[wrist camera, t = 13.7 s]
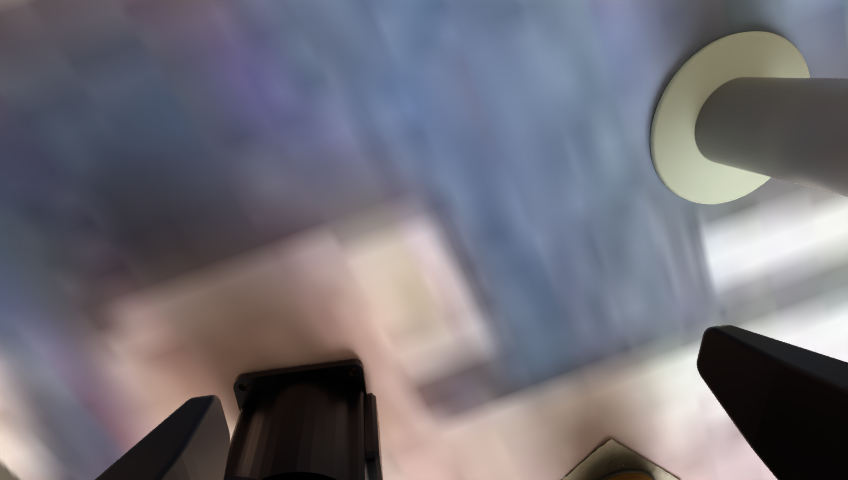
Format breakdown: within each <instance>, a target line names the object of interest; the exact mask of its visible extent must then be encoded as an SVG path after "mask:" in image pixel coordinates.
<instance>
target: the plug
mask: <svg viewBox="0 0 848 480" xmlns="http://www.w3.org/2000/svg"><path fill="white" fill-rule="evenodd" d="M695 141H696V145H697V148H698V150H699V151H700V153H701V154H702V155H703V156H704V157H705V158H706V159H708V160H709V161H712V162H715V163H718V164H722V165H726V166H730V167H734V168H738V169H742V170H745V171H749V172H753V173H757V174H761V175H765V176H769V177H773V178H776V179H780V180H784V181H788V182H792V183H796V184H800V185H804V186H807V187H811V188H815V189H819V190H823V191H827V192H831V193H835V194H838V195H842V196H846V197H848V79H835V78H779V77H739V78H735V79H732V80H730V81H727V82H726V83H724V84H722V85H721V86H719V87H718V88H717V89H716V90H715V91H713V92H712V94H711V95H710V96H709V97H708V98H707V100H706V101H705V102H704V104H703V106H702V107H701V109H700V112H699V114H698V117H697V120H696V124H695Z"/></svg>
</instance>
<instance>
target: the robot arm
mask: <svg viewBox="0 0 848 480" xmlns="http://www.w3.org/2000/svg"><path fill="white" fill-rule="evenodd" d="M352 368H357V369H358V370H356V371H351V370H350V369H352ZM697 368H698V371H699V374H700V376H701V377H702V379H703V380H704V381H705V383H706V384H707V386H708V387H709V388H710V390H711V391H712V393H713V394H714V396H715V397H716V398H717V400H718V401H719V403H720V404H721V406H722V407H723V408H724V410H725V411H726V413H727V414H728V416H729V417H730V418H731V420H732V421H733V423H734V424H735V425H736V427H737V428H738V430H739V431H740V433H741V434H742V435H743V437H744V438H745V440H746V441H747V442H748V444H749V445H750V446H751V448H752V449H753V450H754V451H755V453H756V454H757V455H758V456H759V458H760V459H761V460H762V461H763V463H764V464H765V465H766V466H767V467H768V469H769V470H770V471H771V472H772V473H773V475H774V476H775V477H776V478H777V479H778V480H848V363H847V362H844V361H841V360H838V359H835V358H832V357H829V356H826V355H822V354H819V353H816V352H813V351H810V350H807V349H804V348H801V347H797V346H794V345H791V344H788V343H785V342H782V341H779V340H776V339H773V338H769V337H766V336H763V335H760V334H757V333H754V332H751V331H748V330H744V329H741V328H738V327H735V326H732V325H722V326H714V327H710V328H708V329H706V331H705V332H704V334H703V338H702V342H701V346H700V350H699V354H698V359H697ZM241 383H247V384H248V385H247V386H245V385H242V384H241ZM234 392H235V395H236V399H237V403H238V406H239V410H240V414H239V417H238V420H237V423H236V426H235V429H234V432H233V435H232V438H231V441H230V434H229V429H228V425H227V422H226V418H225V415H224V411H223V408H222V405H221V401H220V399H219V398H218V397H217V396H215V395H208V396H201V397H194V398H191V399H189V400H188V401H186V402H185V403H184V404H183V405H182V406H180V407H179V408H178V409H177V410H176V411H175V412H173V413H172V414H171V415H170V416H169V417H168V418H166V419H165V420H164V421H163V422H162V423H161V424H159V425H158V426H157V427H156V428H155V429H154V430H152V431H151V432H150V433H149V434H148V435H146V436H145V437H144V438H143V439H142V440H141V441H139V442H138V443H137V444H136V445H135V446H134V447H132V448H131V449H130V450H129V451H128V452H127V453H125V454H124V455H123V456H122V457H121V458H120V459H118V460H117V461H116V462H115V463H114V464H113V465H111V466H110V467H109V468H108V469H107V470H105V471H104V472H103V473H102V474H101V475H100V476H98V477H97V478H96V479H95V480H383V472H382V458H381V444H380V430H379V421H378V412H377V403H376V396H375V395H373V394H372V393H368V394H367V390H366V382H365V374H364V366H363V363H362V362H361V361H360V360H357V359H351V360H344V361H336V362H328V363H321V364H313V365H306V366H298V367H291V368H283V369H276V370H268V371H260V372H253V373H245V374H241V375H239V376H238V377H237V378H236V380H235V383H234Z"/></svg>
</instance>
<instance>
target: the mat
mask: <svg viewBox="0 0 848 480" xmlns="http://www.w3.org/2000/svg"><path fill="white" fill-rule="evenodd" d="M739 77H779V78H810V75H809V71H808V68H807V65H806V63H805V60H804V58H803V56H802V55H801V54H800V52H799V51H798V49H797V48H796V47H795V46H794V45H793V44H792V43H791V42H789V41H788V40H786V39H785V38H783V37H781V36H778V35H776V34H773V33H769V32H761V31H751V32H742V33H735V34H732V35H728V36H725V37H722V38H720V39H718V40H715V41H713V42H712V43H710V44H708V45H706V46H705V47H703V48H702V49H701V50H699V51H698V52H697V53H695V54H694V55H693V56H692V57H691V58H690V59H688V60H687V61H686V62H685V63H684V64H683V65H682V67H681V68H680V69H679V70H678V71H677V72H676V74H675V75H674V76H673V78H672V79H671V81H670V82H669V84H668V85H667V87H666V89H665V91H664V92H663V94H662V96H661V99H660V101H659V103H658V105H657V108H656V111H655V114H654V118H653V122H652V127H651V137H650V148H651V156H652V161H653V164H654V167H655V170H656V172H657V174H658V176H659V178H660V179H661V181H662V182H663V183H664V185H665V186H666V187H667V188H668V189H669V190H670V191H672V192H673V193H675V194H676V195H678V196H680V197H682V198H684V199H687V200H689V201H692V202H696V203H701V204H719V203H725V202H728V201H732V200H735V199H738V198H740V197H742V196H745V195H746V194H748V193H750V192H752V191H754V190H755V189H756V188H758V187H759V186H761V185H762V184H763V183H765V182H766V181H767V180H768V179H769V178H771V177H769V176H765V175H761V174H757V173H753V172H749V171H745V170H742V169H738V168H734V167H730V166H726V165H722V164H718V163H715V162H712V161H709V160H708V159H706V158H705V157H704V156H703V155H702V154H701V153H700V151H699V150H698V148H697V145H696V141H695V124H696V120H697V117H698V114H699V112H700V109H701V107H702V106H703V104H704V102H705V101H706V100H707V98H708V97H709V96H710V95H711V94H712V92H713V91H715V90H716V89H717V88H718V87H719V86H721V85H722V84H724V83H726V82H727V81H730V80H732V79H735V78H739Z"/></svg>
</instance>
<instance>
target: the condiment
mask: <svg viewBox="0 0 848 480" xmlns="http://www.w3.org/2000/svg"><path fill="white" fill-rule="evenodd" d="M623 465H624V466H623ZM562 480H678V479H677V478H675V477H674V476H672V475H671V474H669V473H667V472H665V471H664V470H663V469H661V468H660V467H658V466H656V465H654V464H653V463H651V462H649V461H648V460H645V459H643V458H642V457H640V456H639V455H637V454H636V453H634V452H633V451H631V450H630V449H628V448H626V447H624V446H622V445H620V444H619V443H617V442H615V441H614V440H612V439H611V440H609V441H608V442H607V443H605V444H604V445H603V446H602V447H599V448H598V449H597V450H596V451H595V452H594V453H592V454H591V455H590V456H589V457H588V458H587V459H586V460H585V461H583V462H582V463H581V464H579V465H578V466H577V467H576V468H575V469H574V470H573V471H572V472H571V473H570V474H569V475H568V476H567V477H564V478H563V479H562Z"/></svg>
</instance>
